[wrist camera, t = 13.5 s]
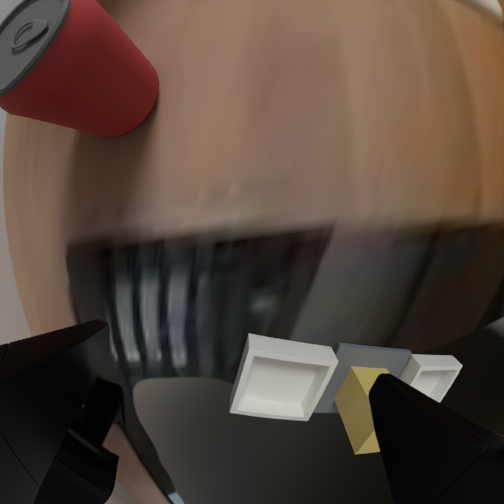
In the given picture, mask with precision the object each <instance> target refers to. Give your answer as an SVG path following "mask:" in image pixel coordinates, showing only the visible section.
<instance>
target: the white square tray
mask: <svg viewBox="0 0 504 504" xmlns="http://www.w3.org/2000/svg"><path fill="white" fill-rule="evenodd" d="M461 368H462V364H461V363H459V362H458V361H457V360H456V359H455V358H454V357H453V356H445V355H418V354H410V356H409V358H408V360H407V362H406V363H405V365H404V367H403V369H402V371H401V372H400V374H399V376H398V378H399V379H400V380H402V381H404V382H405V383H407V384H409V385H410V386H412V387H414V388H415V389H417V390H419V391H420V392H422V393H424V394H425V395H427V396H429V397H430V398H432V399H434V400H436V401H437V402H439V403H440V401H441V400H442V398H443V397H444V395H445V394H446V392H447V391H448V389H449V388H450V386H451V385H452V383H453V381H454V380H455V378H456V376H457V375H458V373H459V371H460V369H461Z"/></svg>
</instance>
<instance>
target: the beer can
mask: <svg viewBox="0 0 504 504" xmlns="http://www.w3.org/2000/svg"><path fill="white" fill-rule="evenodd" d="M158 87H159V81H158V76H157V72H156V70H155V69H154V68H153V66H152V65H151V64H150V62H149V61H148V60H147V59H146V58H145V56H144V55H143V54H142V53H141V52H140V50H139V49H138V48H137V47H136V46H135V44H134V43H133V42H132V41H131V40H130V39H129V37H128V36H127V35H126V34H125V33H124V31H123V30H122V29H121V28H120V27H119V26H118V25H117V23H116V22H115V21H114V20H113V19H112V18H111V17H110V15H109V14H108V13H107V12H106V11H105V10H104V9H103V8H102V6H101V5H100V4H99V3H98V2H97V1H96V0H23V1H22V2H21V3H20V4H18V5H17V6H16V7H15V8H14V9H13V10H12V11H11V12H10V14H8V16H7V17H6V18H5V19H4V20H3V22H2V23H1V24H0V107H1V108H2V109H4V110H5V111H7V112H8V113H10V114H13V115H18V116H23V117H27V118H32V119H36V120H41V121H45V122H49V123H53V124H57V125H61V126H65V127H69V128H73V129H77V130H80V131H84V132H88V133H91V134H95V135H99V136H103V137H114V136H120V135H122V134H124V133H126V132H129V131H131V130H132V129H133V128H135V127H136V126H137V125H138V124H140V123H141V122H142V121H143V120H144V119H145V117H146V116H147V115H148V114H149V112H150V111H151V110H152V108H153V105H154V103H155V101H156V98H157V96H158Z"/></svg>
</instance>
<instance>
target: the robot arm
mask: <svg viewBox="0 0 504 504" xmlns="http://www.w3.org/2000/svg"><path fill="white" fill-rule="evenodd" d="M109 346H110V341H109V324H108V323H107V322H104V321H101V320H98V319H96V320H92V321H88V322H85V323H81V324H78V325H74V326H71V327H67V328H63V329H60V330H56V331H52V332H49V333H45V334H41V335H37V336H34V337H30V338H26V339H23V340H18V341H15V342H11V343H9V344H8V343H7V344H3V345H0V504H104V503H105V502H106V501H107V500H108V499H109V497H110V496H111V494H112V492H113V489H114V485H115V479H116V472H117V465H118V459H119V456H117V455H116V454H114V453H111V452H110V451H108V450H107V449H106V448H104V447H103V446H102V445H103V443H104V441H105V438H106V436H107V434H108V432H109V430H110V428H111V426H112V423H114V424H116V425H119V426H123V425H124V413H123V401H122V389H121V387H120V386H119V385H117V384H114V383H112V382H109V381H106V380H103V379H101V378H98V377H97V375H98V373H99V371H100V368H101V366H102V364H103V362H104V359H105V357H106V355H107V353H108V350H109ZM368 397H369V403H370V408H371V413H372V419H373V425H374V430H375V434H376V438H377V442H378V445H379V449H380V453H381V456H382V460H383V464H384V468H385V472H386V476H387V480H388V484H389V489H390V493H391V498H392V502H393V504H504V436H502V435H500V434H497V433H495V432H493V431H491V430H489V429H486V428H484V427H482V426H480V425H478V424H476V423H475V422H473V421H471V420H469V419H467V418H465V417H464V416H461V415H460V414H458V413H456V412H455V411H453V410H451V409H449V408H448V407H446V406H444V405H443V404H441V403H439V402H437V401H436V400H434V399H432V398H430V397H429V396H427V395H425V394H424V393H422V392H420V391H419V390H417V389H415V388H414V387H412V386H410V385H409V384H407V383H405V382H404V381H402V380H400V379H399V378H397V377H395V376H394V375H392V374H389V373H381V374H379V375H378V377H377V378H376V380H375V382H374V384H373V385H372V387H371V389H370V391H369V395H368Z"/></svg>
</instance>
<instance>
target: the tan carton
mask: <svg viewBox="0 0 504 504" xmlns="http://www.w3.org/2000/svg"><path fill="white" fill-rule="evenodd" d="M381 373H389V371H388V370H387V369H385V368H367V367H353V366H351V368H350V370H349V372H348V374H347V376H346V378H345V380H344V381H343V383H342V385H341V387H340V389H339V391H338V393H337V394H336V396H335V398H334V400H335V403H336V405H337V408H338V410H339V413H340V416H341V418H342V421H343V423H344V426H345V429H346V431H347V434H348V437H349V439H350V442H351V444H352V447H353V450H354V453H355V454H363V453H372V452H379V451H380V449H379V445H378V442H377V438H376V434H375V430H374V425H373V419H372V413H371V408H370V403H369V397H368V395H369V391H370V389H371V387H372V385H373V384H374V382H375V380H376V378H377V377H378V375H379V374H381ZM389 374H390V373H389Z"/></svg>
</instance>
